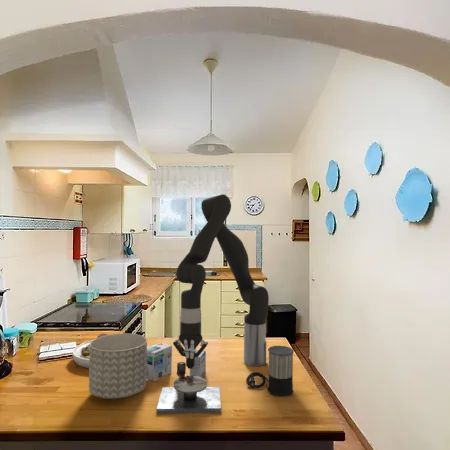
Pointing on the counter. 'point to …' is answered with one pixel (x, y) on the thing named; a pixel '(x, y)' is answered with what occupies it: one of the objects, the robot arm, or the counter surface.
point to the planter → (117, 365)
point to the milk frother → (277, 372)
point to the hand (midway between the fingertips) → (190, 367)
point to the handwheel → (188, 381)
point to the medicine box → (199, 365)
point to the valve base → (189, 401)
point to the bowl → (83, 353)
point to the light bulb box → (159, 361)
